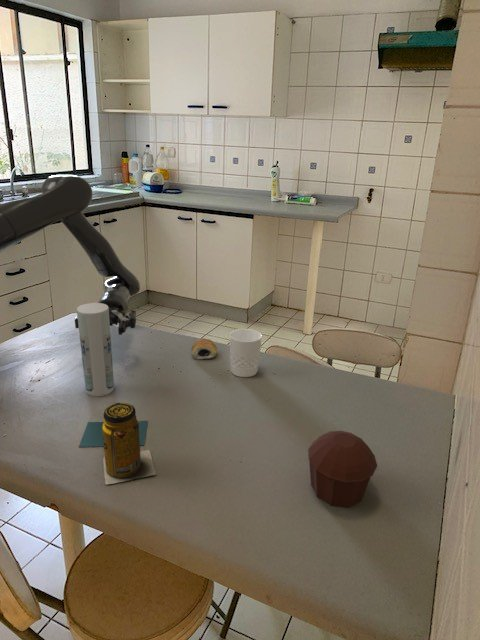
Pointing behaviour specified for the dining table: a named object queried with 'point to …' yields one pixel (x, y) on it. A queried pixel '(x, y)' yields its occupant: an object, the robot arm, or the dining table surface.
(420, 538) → the dining table surface
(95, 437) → the mat
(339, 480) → the muffin
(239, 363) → the white cup
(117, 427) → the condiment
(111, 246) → the robot arm
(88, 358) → the spray can
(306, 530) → the dining table surface
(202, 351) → the pastry
